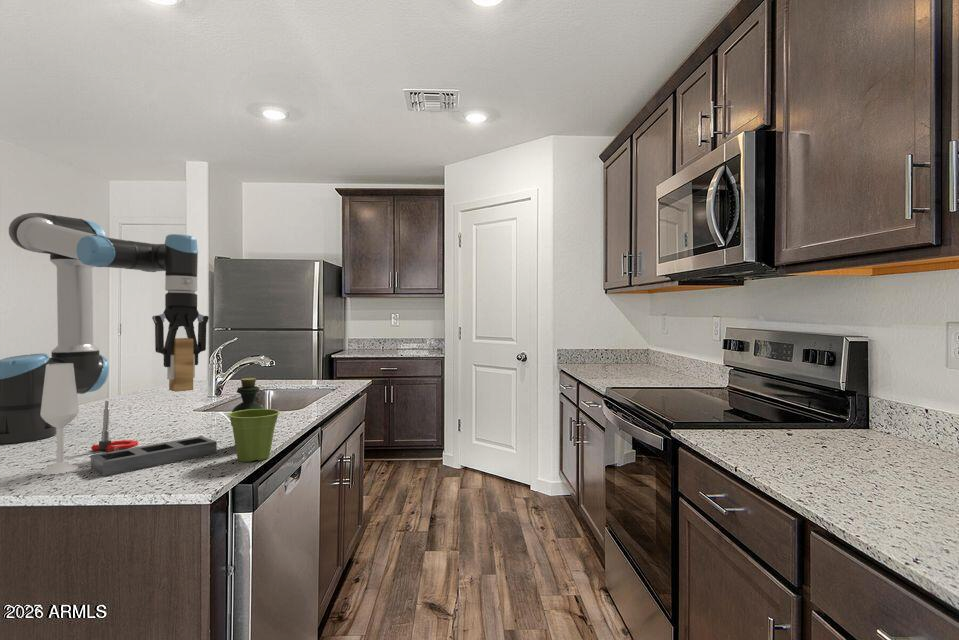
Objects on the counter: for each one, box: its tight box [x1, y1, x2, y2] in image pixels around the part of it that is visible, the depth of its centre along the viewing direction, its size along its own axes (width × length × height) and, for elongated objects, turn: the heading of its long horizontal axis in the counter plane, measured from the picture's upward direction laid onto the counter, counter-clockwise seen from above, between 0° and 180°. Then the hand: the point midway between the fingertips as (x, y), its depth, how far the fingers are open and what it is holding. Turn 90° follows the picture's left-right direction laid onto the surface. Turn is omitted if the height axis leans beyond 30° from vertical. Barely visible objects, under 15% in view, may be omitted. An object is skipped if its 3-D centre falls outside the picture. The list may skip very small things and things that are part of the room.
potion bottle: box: [231, 377, 265, 412], centre depth 137 cm, size 8×8×18 cm
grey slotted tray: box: [90, 435, 218, 477], centre depth 123 cm, size 9×24×3 cm, turn 141°
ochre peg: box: [168, 337, 194, 393], centre depth 138 cm, size 4×4×14 cm
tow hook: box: [91, 400, 139, 452], centre depth 135 cm, size 8×13×9 cm
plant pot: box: [227, 408, 281, 463], centre depth 125 cm, size 12×12×11 cm
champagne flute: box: [40, 363, 80, 476], centre depth 115 cm, size 7×7×24 cm
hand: (181, 378), depth 138 cm, fingers closed on ochre peg, 4 cm apart
